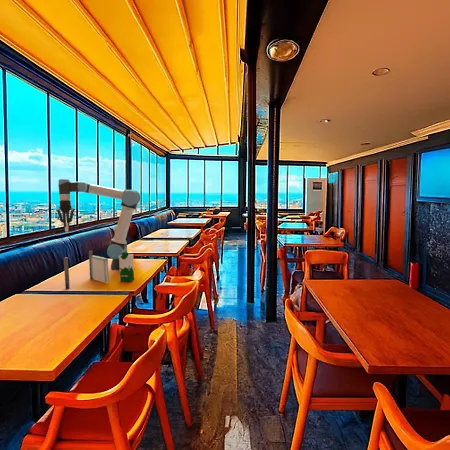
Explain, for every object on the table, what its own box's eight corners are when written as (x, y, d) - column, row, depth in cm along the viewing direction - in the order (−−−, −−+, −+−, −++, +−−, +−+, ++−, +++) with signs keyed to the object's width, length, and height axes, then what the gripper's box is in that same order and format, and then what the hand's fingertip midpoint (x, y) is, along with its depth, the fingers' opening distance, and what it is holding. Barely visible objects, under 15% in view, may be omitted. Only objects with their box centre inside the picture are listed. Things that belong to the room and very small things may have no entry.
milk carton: (118, 282, 228) (117, 253, 227) (123, 279, 237) (122, 251, 236) (131, 282, 228) (129, 253, 226) (135, 279, 237) (134, 251, 235)
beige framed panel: (91, 278, 237) (90, 255, 235) (94, 277, 238) (93, 255, 237) (105, 282, 224) (104, 259, 223) (108, 282, 226) (107, 258, 224)
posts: (91, 278, 241) (90, 250, 239) (94, 278, 240) (93, 250, 238) (64, 289, 214) (62, 258, 212) (67, 289, 213) (66, 258, 212)
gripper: (71, 199, 259) (73, 230, 261) (53, 200, 250) (55, 231, 252) (75, 199, 254) (77, 230, 256) (57, 200, 245) (59, 232, 247)
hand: (66, 231), depth 254 cm, fingers closed
